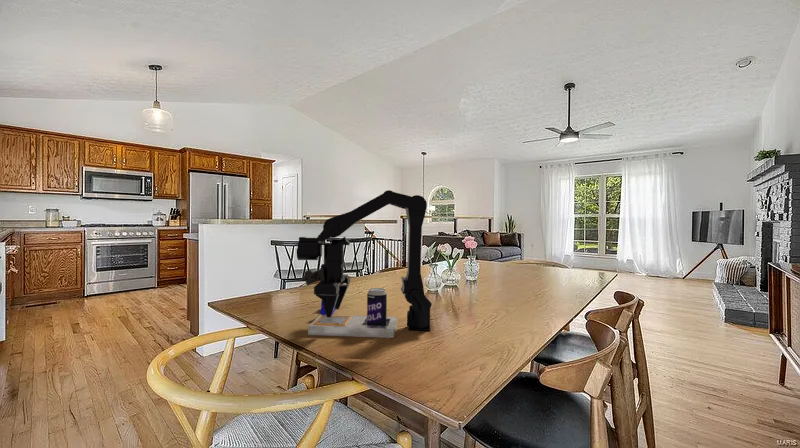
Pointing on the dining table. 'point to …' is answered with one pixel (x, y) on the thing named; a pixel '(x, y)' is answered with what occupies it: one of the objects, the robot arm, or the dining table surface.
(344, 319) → the grey rectangular slab
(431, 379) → the dining table surface
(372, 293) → the beverage can
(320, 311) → the cable clip
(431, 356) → the dining table surface
